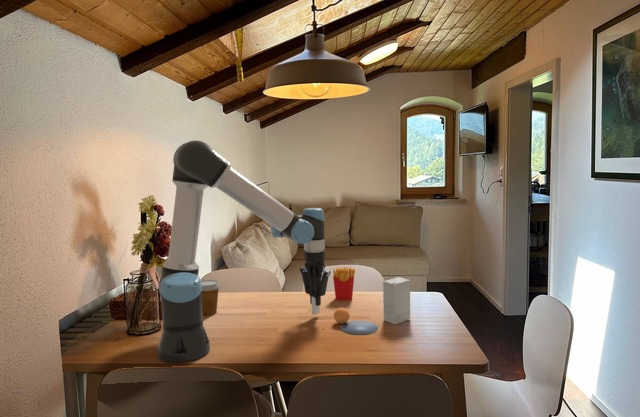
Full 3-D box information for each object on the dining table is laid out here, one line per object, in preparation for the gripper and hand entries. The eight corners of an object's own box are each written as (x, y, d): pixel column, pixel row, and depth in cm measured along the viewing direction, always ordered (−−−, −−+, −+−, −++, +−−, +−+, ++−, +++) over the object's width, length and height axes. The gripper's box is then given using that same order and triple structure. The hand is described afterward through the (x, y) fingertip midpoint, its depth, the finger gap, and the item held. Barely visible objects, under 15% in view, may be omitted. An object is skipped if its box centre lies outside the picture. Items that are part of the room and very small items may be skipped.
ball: (342, 310, 158) (329, 309, 162) (344, 326, 158) (331, 325, 162) (351, 306, 162) (339, 305, 166) (353, 321, 162) (341, 320, 166)
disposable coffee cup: (224, 309, 181) (222, 279, 179) (216, 317, 171) (214, 286, 170) (200, 309, 182) (199, 279, 180) (191, 317, 172) (190, 285, 171)
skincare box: (398, 315, 169) (398, 276, 168) (411, 320, 164) (411, 279, 163) (382, 320, 164) (382, 280, 163) (394, 325, 159) (394, 283, 158)
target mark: (364, 337, 149) (364, 337, 148) (332, 329, 156) (332, 328, 156) (385, 326, 159) (385, 325, 159) (353, 318, 167) (353, 318, 167)
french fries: (333, 300, 189) (333, 269, 188) (333, 297, 194) (333, 267, 192) (355, 300, 189) (355, 269, 188) (355, 297, 193) (354, 266, 192)
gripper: (335, 250, 166) (336, 314, 168) (307, 247, 174) (308, 307, 176) (322, 254, 160) (323, 319, 162) (294, 250, 168) (295, 312, 170)
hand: (315, 313), depth 169 cm, fingers closed
